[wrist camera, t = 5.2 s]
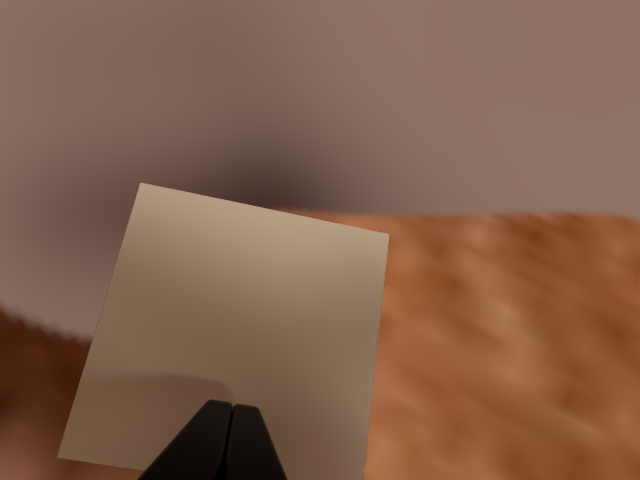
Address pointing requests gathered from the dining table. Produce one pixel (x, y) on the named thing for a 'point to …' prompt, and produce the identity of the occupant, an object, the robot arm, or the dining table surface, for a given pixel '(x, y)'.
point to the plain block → (233, 334)
